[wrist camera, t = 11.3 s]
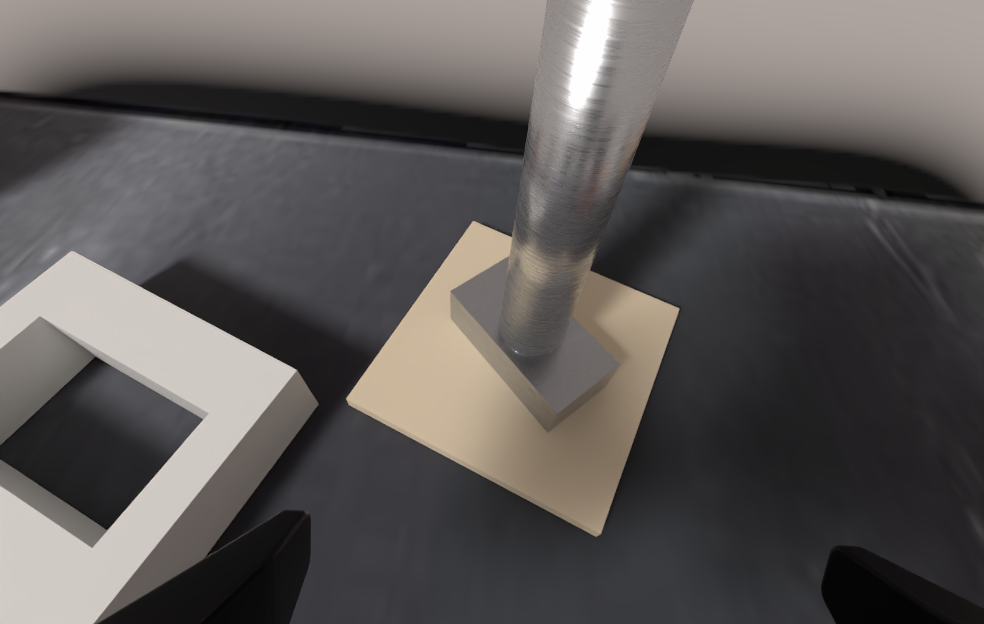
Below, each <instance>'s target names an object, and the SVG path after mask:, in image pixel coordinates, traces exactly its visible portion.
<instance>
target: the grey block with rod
mask: <svg viewBox="0 0 984 624" xmlns="http://www.w3.org/2000/svg"><path fill="white" fill-rule="evenodd" d="M693 1H694V0H547V6H546V13H545V19H544V26H543V34H542V40H541V46H540V53H539V60H538V67H537V73H536V80H535V87H534V94H533V100H532V107H531V114H530V121H529V127H528V134H527V141H526V148H525V154H524V161H523V168H522V175H521V181H520V188H519V195H518V201H517V208H516V215H515V222H514V228H513V235H512V242H511V249H510V255H509V256H508V257H506V258H505V259H503V260H501V261H500V262H498V263H496V264H495V265H493V266H491V267H490V268H488V269H486V270H485V271H483V272H481V273H480V274H478V275H476V276H475V277H473V278H471V279H470V280H468V281H466V282H465V283H463V284H461V285H459V286H458V287H456V288H454V289H453V290H451V291H450V310H451V320H452V321H453V322H454V323H455V324H456V325H457V327H458V328H459V329H460V330H461V331H462V333H463V334H464V335H465V336H466V337H467V338H468V340H469V341H470V342H471V343H472V344H473V345H474V347H475V348H476V349H477V350H478V351H479V353H480V354H481V355H482V356H483V357H484V358H485V360H486V361H487V362H488V363H489V364H490V365H491V367H492V368H493V369H494V370H495V371H496V373H497V374H498V375H499V376H500V377H501V378H502V380H503V381H504V382H505V383H506V384H507V385H508V387H509V388H510V389H511V390H512V391H513V393H514V394H515V395H516V396H517V397H518V398H519V400H520V401H521V402H522V403H523V404H524V406H525V407H526V408H527V409H528V410H529V411H530V413H531V414H532V415H533V416H534V417H535V418H536V420H537V421H538V422H539V423H540V424H541V426H542V427H543V428H544V429H545V430H546V431H547V433H548V432H550V431H551V430H552V429H554V428H555V427H556V426H557V425H559V424H560V423H561V422H562V421H564V420H565V419H566V418H567V417H569V416H570V415H571V414H572V413H574V412H575V411H576V410H577V409H579V408H580V407H581V406H582V405H584V404H585V403H586V402H587V401H589V400H590V399H591V398H592V397H594V396H595V395H596V394H597V393H599V392H600V391H601V390H602V389H604V388H605V387H606V385H607V384H608V382H609V381H610V379H611V378H612V376H613V375H614V373H615V372H616V370H617V368H618V367H619V365H620V363H619V362H618V361H617V360H616V359H615V358H614V357H613V356H612V355H611V354H610V353H609V352H608V351H607V350H606V349H605V348H604V347H603V346H602V345H601V344H600V343H599V342H598V341H597V340H596V339H595V338H594V337H593V336H592V335H591V334H590V333H589V332H588V331H587V330H586V329H585V328H584V327H583V326H582V325H581V324H580V323H579V322H578V321H577V320H576V319H575V318H574V317H573V313H574V310H575V308H576V305H577V303H578V300H579V297H580V295H581V292H582V290H583V287H584V284H585V282H586V279H587V277H588V274H589V271H590V269H591V266H592V264H593V261H594V258H595V256H596V253H597V251H598V248H599V245H600V243H601V240H602V238H603V235H604V232H605V230H606V227H607V225H608V222H609V219H610V217H611V214H612V212H613V209H614V206H615V204H616V201H617V199H618V196H619V193H620V191H621V188H622V186H623V183H624V180H625V178H626V175H627V173H628V170H629V167H630V165H631V162H632V160H633V157H634V155H635V152H636V149H637V147H638V144H639V141H640V139H641V136H642V134H643V131H644V129H645V126H646V123H647V121H648V118H649V115H650V113H651V110H652V108H653V105H654V103H655V100H656V97H657V95H658V92H659V89H660V87H661V84H662V82H663V79H664V77H665V74H666V71H667V69H668V66H669V64H670V61H671V58H672V56H673V53H674V51H675V48H676V45H677V43H678V40H679V38H680V35H681V32H682V30H683V27H684V24H685V22H686V19H687V17H688V14H689V12H690V9H691V6H692V4H693Z"/></svg>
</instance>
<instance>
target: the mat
mask: <svg viewBox="0 0 984 624" xmlns="http://www.w3.org/2000/svg"><path fill="white" fill-rule="evenodd" d="M511 242H512V237H510V236H507V235H505V234H503V233H500V232H498V231H496V230H493V229H491V228H489V227H486V226H484V225H481V224H479V223H477V222H474V221H473V222H472V224H471V225H470V226H469V228H468V229H467V231H466V232H465V233H464V235H463V236H462V238H461V239H460V240H459V242H458V243H457V245H456V246H455V247H454V249H453V250H452V251H451V253H450V254H449V256H448V257H447V258H446V260H445V261H444V263H443V264H442V265H441V267H440V268H439V270H438V271H437V272H436V274H435V275H434V277H433V278H432V279H431V281H430V282H429V284H428V285H427V286H426V288H425V289H424V291H423V292H422V293H421V295H420V296H419V298H418V299H417V300H416V302H415V303H414V305H413V306H412V307H411V309H410V310H409V312H408V313H407V314H406V316H405V317H404V319H403V320H402V321H401V323H400V324H399V326H398V327H397V328H396V330H395V331H394V333H393V334H392V335H391V337H390V338H389V340H388V341H387V342H386V344H385V345H384V347H383V348H382V349H381V351H380V352H379V354H378V355H377V356H376V358H375V359H374V361H373V362H372V363H371V365H370V366H369V368H368V369H367V370H366V372H365V373H364V374H363V376H362V377H361V379H360V380H359V381H358V383H357V384H356V386H355V387H354V388H353V390H352V391H351V393H350V394H349V395H348V397H347V398H346V400H347V402H348V404H349V405H350V406H352V407H354V408H356V409H357V410H359V411H361V412H363V413H365V414H367V415H369V416H371V417H372V418H374V419H376V420H378V421H380V422H382V423H384V424H386V425H387V426H389V427H391V428H393V429H395V430H397V431H399V432H401V433H402V434H404V435H406V436H408V437H410V438H412V439H414V440H416V441H417V442H419V443H421V444H423V445H425V446H427V447H429V448H431V449H432V450H434V451H436V452H438V453H440V454H442V455H444V456H446V457H447V458H449V459H451V460H453V461H455V462H457V463H459V464H461V465H462V466H464V467H466V468H468V469H470V470H472V471H474V472H476V473H477V474H479V475H481V476H483V477H485V478H487V479H489V480H491V481H492V482H494V483H496V484H498V485H500V486H502V487H504V488H506V489H507V490H509V491H511V492H513V493H515V494H517V495H519V496H521V497H522V498H524V499H526V500H528V501H530V502H532V503H534V504H536V505H537V506H539V507H541V508H543V509H545V510H547V511H549V512H551V513H552V514H554V515H556V516H558V517H560V518H562V519H564V520H566V521H567V522H569V523H571V524H573V525H575V526H577V527H579V528H581V529H582V530H584V531H586V532H588V533H590V534H592V535H594V536H596V537H597V536H599V535H600V534H601V532H602V529H603V526H604V523H605V520H606V518H607V515H608V512H609V509H610V506H611V503H612V500H613V498H614V495H615V492H616V489H617V486H618V483H619V480H620V478H621V475H622V472H623V469H624V466H625V463H626V460H627V458H628V455H629V452H630V449H631V446H632V443H633V440H634V438H635V435H636V432H637V429H638V426H639V423H640V420H641V418H642V415H643V412H644V409H645V406H646V403H647V400H648V398H649V395H650V392H651V389H652V386H653V383H654V380H655V378H656V375H657V372H658V369H659V366H660V363H661V361H662V358H663V355H664V352H665V349H666V346H667V343H668V341H669V338H670V335H671V332H672V329H673V326H674V323H675V321H676V318H677V315H678V312H679V308H677V307H675V306H672V305H670V304H668V303H665V302H663V301H660V300H658V299H656V298H653V297H651V296H649V295H646V294H644V293H642V292H639V291H637V290H635V289H632V288H630V287H628V286H625V285H623V284H620V283H618V282H616V281H613V280H611V279H609V278H606V277H604V276H602V275H599V274H597V273H595V272H592V271H589V274H588V277H587V279H586V282H585V284H584V287H583V290H582V292H581V295H580V297H579V300H578V303H577V305H576V308H575V310H574V313H573V317H574V318H575V319H576V320H577V321H578V322H579V323H580V324H581V325H582V326H583V327H584V328H585V329H586V330H587V331H588V332H589V333H590V334H591V335H592V336H593V337H594V338H595V339H596V340H597V341H598V342H599V343H600V344H601V345H602V346H603V347H604V348H605V349H606V350H607V351H608V352H609V353H610V354H611V355H612V356H613V357H614V358H615V359H616V360H617V361H618V362H619V363H620V365H619V367H618V368H617V370H616V372H615V373H614V375H613V376H612V378H611V379H610V381H609V382H608V384H607V385H606V387H605V388H604V389H602V390H601V391H600V392H599V393H597V394H596V395H595V396H594V397H592V398H591V399H590V400H589V401H587V402H586V403H585V404H584V405H582V406H581V407H580V408H579V409H577V410H576V411H575V412H574V413H572V414H571V415H570V416H569V417H567V418H566V419H565V420H564V421H562V422H561V423H560V424H559V425H557V426H556V427H555V428H554V429H552V430H551V431H550V432H548V433H547V431H546V430H545V429H544V428H543V427H542V426H541V424H540V423H539V422H538V421H537V420H536V418H535V417H534V416H533V415H532V414H531V413H530V411H529V410H528V409H527V408H526V407H525V406H524V404H523V403H522V402H521V401H520V400H519V398H518V397H517V396H516V395H515V394H514V393H513V391H512V390H511V389H510V388H509V387H508V385H507V384H506V383H505V382H504V381H503V380H502V378H501V377H500V376H499V375H498V374H497V373H496V371H495V370H494V369H493V368H492V367H491V365H490V364H489V363H488V362H487V361H486V360H485V358H484V357H483V356H482V355H481V354H480V353H479V351H478V350H477V349H476V348H475V347H474V345H473V344H472V343H471V342H470V341H469V340H468V338H467V337H466V336H465V335H464V334H463V333H462V331H461V330H460V329H459V328H458V327H457V325H456V324H455V323H454V322H453V321H452V320H451V310H450V291H451V290H453V289H454V288H456V287H458V286H459V285H461V284H463V283H465V282H466V281H468V280H470V279H471V278H473V277H475V276H476V275H478V274H480V273H481V272H483V271H485V270H486V269H488V268H490V267H491V266H493V265H495V264H496V263H498V262H500V261H501V260H503V259H505V258H506V257H508V256H509V255H510V249H511Z"/></svg>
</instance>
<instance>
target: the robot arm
mask: <svg viewBox="0 0 984 624" xmlns="http://www.w3.org/2000/svg"><path fill="white" fill-rule="evenodd" d="M310 554H311V518H310V514H309V513H308V512H307V511H299V510H283V511H281V512H280V513H278V514H276V515H275V516H273V517H271V518H270V519H268V520H266V521H265V522H263V523H262V524H260V525H258V526H257V527H255V528H253V529H252V530H250V531H248V532H247V533H245V534H243V535H242V536H240V537H238V538H237V539H235V540H234V541H232V542H230V543H229V544H227V545H225V546H224V547H222V548H220V549H219V550H217V551H215V552H214V553H212V554H210V555H209V556H207V557H206V558H204V559H202V560H201V561H199V562H197V563H196V564H194V565H192V566H191V567H189V568H187V569H186V570H184V571H183V572H181V573H179V574H178V575H176V576H174V577H173V578H171V579H169V580H168V581H166V582H164V583H163V584H161V585H159V586H158V587H156V588H155V589H153V590H151V591H150V592H148V593H146V594H145V595H143V596H141V597H140V598H138V599H136V600H135V601H133V602H131V603H130V604H128V605H127V606H125V607H123V608H122V609H120V610H118V611H117V612H115V613H113V614H112V615H110V616H108V617H107V618H105V619H103V620H102V621H100V622H99V623H97V624H289V623H290V620H291V617H292V614H293V611H294V608H295V605H296V603H297V600H298V597H299V594H300V591H301V588H302V585H303V582H304V579H305V576H306V573H307V570H308V567H309V562H310ZM821 591H822V596H823V599H824V602H825V604H826V606H827V608H828V609H829V611H830V613H831V615H832V617H833V619H834V621H835V622H836V624H984V608H982V607H980V606H978V605H976V604H974V603H972V602H970V601H968V600H966V599H964V598H962V597H960V596H958V595H956V594H954V593H952V592H950V591H948V590H946V589H944V588H942V587H940V586H938V585H936V584H934V583H932V582H930V581H928V580H926V579H924V578H922V577H920V576H918V575H916V574H914V573H912V572H910V571H908V570H906V569H904V568H902V567H900V566H898V565H896V564H894V563H892V562H890V561H888V560H886V559H884V558H882V557H880V556H878V555H876V554H874V553H872V552H870V551H868V550H866V549H864V548H861V547H857V546H841V545H838V546H835V547H833V549H832V550H831V551H830V554H829V558H828V562H827V565H826V569H825V573H824V577H823V580H822V585H821Z"/></svg>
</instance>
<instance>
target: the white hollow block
mask: <svg viewBox="0 0 984 624" xmlns="http://www.w3.org/2000/svg"><path fill="white" fill-rule="evenodd" d="M95 357H97V358H99V359H100V360H102V361H104V362H105V363H107V364H109V365H111V366H112V367H114V368H116V369H118V370H119V371H121V372H123V373H125V374H126V375H128V376H130V377H131V378H133V379H135V380H137V381H138V382H140V383H142V384H144V385H145V386H147V387H149V388H150V389H152V390H154V391H156V392H157V393H159V394H161V395H163V396H164V397H166V398H168V399H169V400H171V401H173V402H175V403H176V404H178V405H180V406H182V407H183V408H185V409H187V410H188V411H190V412H192V413H194V414H195V415H197V416H199V417H201V418H202V419H204V420H203V421H202V422H201V423H200V424H199V426H198V427H197V428H196V429H195V430H194V431H193V432H192V434H191V435H190V436H189V437H188V438H187V439H186V441H185V442H184V443H183V444H182V445H181V446H180V447H179V449H178V450H177V451H176V452H175V453H174V454H173V456H172V457H171V458H170V459H169V460H168V461H167V462H166V464H165V465H164V466H163V467H162V468H161V469H160V471H159V472H158V473H157V474H156V475H155V476H154V477H153V479H152V480H151V481H150V482H149V483H148V484H147V486H146V487H145V488H144V489H143V490H142V491H141V492H140V494H139V495H138V496H137V497H136V498H135V499H134V501H133V502H132V503H131V504H130V505H129V506H128V508H127V509H126V510H125V511H124V512H123V513H122V514H121V516H120V517H119V518H118V519H117V520H116V521H115V523H114V524H113V525H112V526H111V527H110V528H109V529H108V530H106V529H105V528H103V527H102V526H100V525H99V524H97V523H96V522H94V521H93V520H91V519H90V518H88V517H87V516H85V515H84V514H82V513H80V512H79V511H77V510H76V509H74V508H73V507H71V506H70V505H68V504H67V503H65V502H64V501H62V500H61V499H59V498H58V497H56V496H55V495H53V494H52V493H50V492H49V491H47V490H46V489H44V488H43V487H41V486H40V485H38V484H37V483H35V482H34V481H32V480H31V479H29V478H28V477H26V476H25V475H23V474H22V473H20V472H19V471H17V470H16V469H14V468H13V467H11V466H10V465H8V464H7V463H5V462H4V461H2V460H1V459H0V624H97V623H99V622H100V621H102V620H103V619H105V618H107V617H108V616H110V615H112V614H113V613H115V612H117V611H118V610H120V609H122V608H123V607H125V606H127V605H128V604H130V603H131V602H133V601H135V600H136V599H138V598H140V597H141V596H143V595H145V594H146V593H148V592H150V591H151V590H153V589H155V588H156V587H158V586H159V585H161V584H163V583H164V582H166V581H168V580H169V579H171V578H173V577H174V576H176V575H178V574H179V573H181V572H183V571H184V570H186V569H187V568H189V567H191V566H192V565H194V564H196V563H197V562H199V561H201V560H202V559H204V558H205V557H206V555H207V554H208V553H209V551H210V550H211V549H212V547H213V546H214V545H215V543H216V542H217V541H218V539H219V538H220V537H221V535H222V534H223V532H224V531H225V530H226V528H227V527H228V526H229V524H230V523H231V522H232V520H233V519H234V518H235V516H236V515H237V514H238V512H239V511H240V510H241V508H242V507H243V506H244V504H245V503H246V502H247V500H248V499H249V498H250V496H251V495H252V493H253V492H254V491H255V489H256V488H257V487H258V485H259V484H260V483H261V481H262V480H263V479H264V477H265V476H266V475H267V473H268V472H269V471H270V469H271V468H272V467H273V465H274V464H275V463H276V461H277V460H278V459H279V457H280V456H281V454H282V453H283V452H284V450H285V449H286V448H287V446H288V445H289V444H290V442H291V441H292V440H293V438H294V437H295V436H296V434H297V433H298V432H299V430H300V429H301V428H302V426H303V425H304V424H305V422H306V421H307V420H308V418H309V417H310V415H311V414H312V413H313V411H314V410H315V409H316V407H317V406H318V405H319V404H318V402H317V401H316V399H315V397H314V396H313V394H312V393H311V391H310V390H309V388H308V386H307V385H306V383H305V382H304V380H303V379H302V377H301V375H300V374H299V372H298V371H297V370H296V369H294V368H292V367H290V366H288V365H287V364H285V363H283V362H281V361H279V360H277V359H275V358H273V357H271V356H270V355H268V354H266V353H264V352H262V351H260V350H258V349H256V348H254V347H253V346H251V345H249V344H247V343H245V342H243V341H241V340H239V339H237V338H236V337H234V336H232V335H230V334H228V333H226V332H224V331H222V330H220V329H219V328H217V327H215V326H213V325H211V324H209V323H207V322H205V321H204V320H202V319H200V318H198V317H196V316H194V315H192V314H190V313H188V312H187V311H185V310H183V309H181V308H179V307H177V306H175V305H173V304H171V303H170V302H168V301H166V300H164V299H162V298H160V297H158V296H156V295H154V294H153V293H151V292H149V291H147V290H145V289H143V288H141V287H139V286H137V285H136V284H134V283H132V282H130V281H128V280H126V279H124V278H122V277H120V276H119V275H117V274H115V273H113V272H111V271H109V270H107V269H105V268H103V267H102V266H100V265H98V264H96V263H94V262H92V261H90V260H88V259H86V258H85V257H83V256H81V255H79V254H77V253H75V252H73V251H71V252H70V253H68V254H67V255H66V256H65V257H63V258H62V259H61V260H59V261H58V262H57V263H56V264H54V265H53V266H52V267H50V268H49V269H48V270H47V271H45V272H44V273H43V274H42V275H40V276H39V277H38V278H36V279H35V280H34V281H33V282H31V283H30V284H29V285H28V286H26V287H25V288H24V289H22V290H21V291H20V292H19V293H17V294H16V295H15V296H13V297H12V298H11V299H10V300H8V301H7V302H6V303H5V304H3V305H2V306H1V307H0V445H1V444H2V443H3V442H5V441H6V440H7V439H8V438H9V437H10V436H11V435H12V434H13V433H14V432H15V431H16V430H17V429H18V428H20V427H21V426H22V425H23V424H24V423H25V422H26V421H27V420H28V419H29V418H30V417H31V416H32V415H34V414H35V413H36V412H37V411H38V410H39V409H40V408H41V407H42V406H43V405H44V404H45V403H46V402H47V401H49V400H50V399H51V398H52V397H53V396H54V395H55V394H56V393H57V392H58V391H59V390H60V389H61V388H62V387H64V386H65V385H66V384H67V383H68V382H69V381H70V380H71V379H72V378H73V377H74V376H75V375H76V374H78V373H79V372H80V371H81V370H82V369H83V368H84V367H85V366H86V365H87V364H88V363H89V362H90V361H91V360H93V359H94V358H95Z"/></svg>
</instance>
